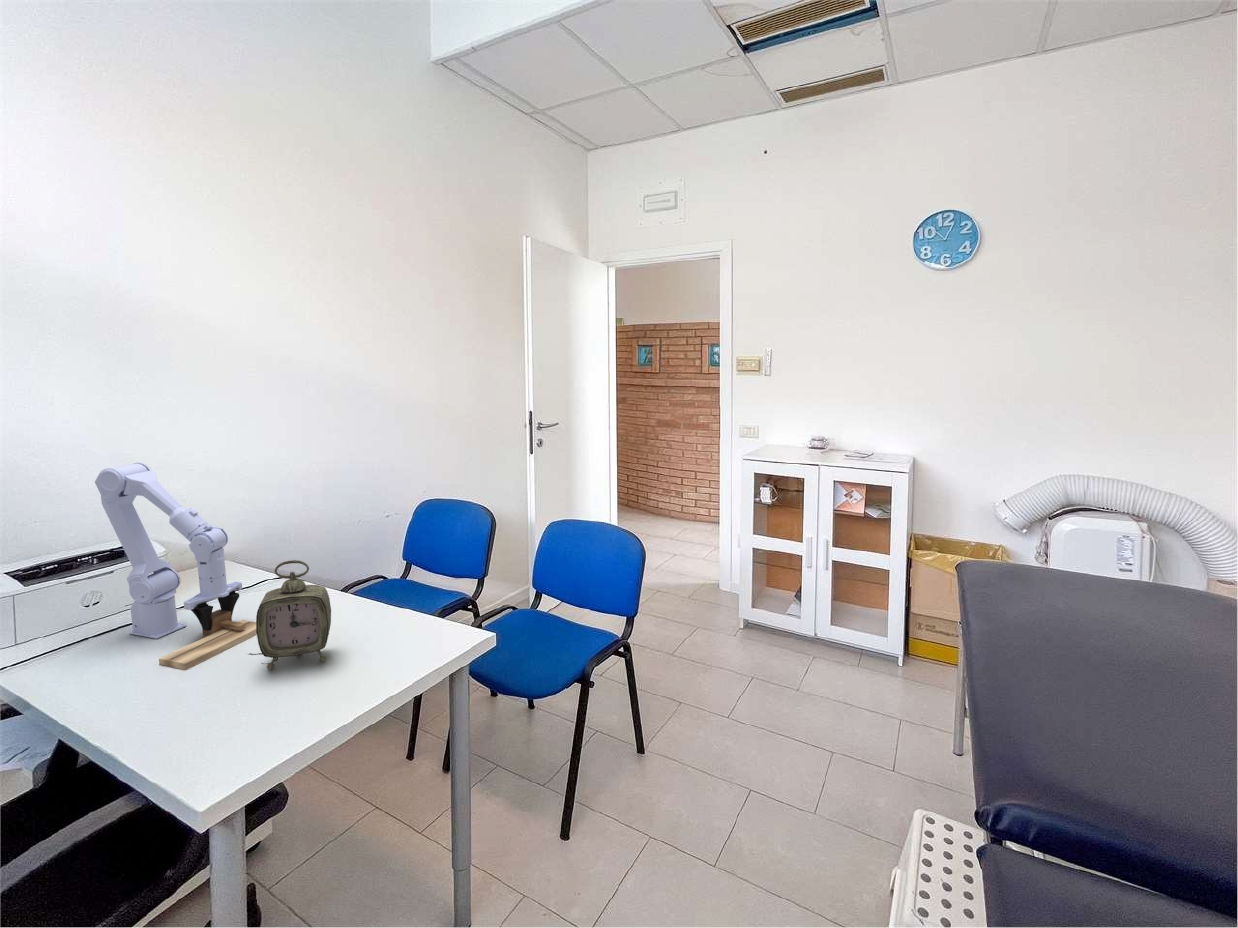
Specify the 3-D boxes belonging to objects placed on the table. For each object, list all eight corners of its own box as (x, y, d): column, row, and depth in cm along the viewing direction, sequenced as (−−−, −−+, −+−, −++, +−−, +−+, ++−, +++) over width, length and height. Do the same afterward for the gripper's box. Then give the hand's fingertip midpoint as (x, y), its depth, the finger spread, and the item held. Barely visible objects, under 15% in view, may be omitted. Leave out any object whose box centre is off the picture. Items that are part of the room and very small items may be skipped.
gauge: (202, 635, 149) (201, 616, 148) (220, 626, 154) (219, 609, 153) (234, 641, 146) (232, 622, 145) (252, 632, 151) (250, 614, 150)
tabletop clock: (260, 675, 131) (250, 569, 126) (267, 656, 139) (259, 557, 135) (331, 664, 136) (324, 563, 132) (334, 647, 144) (328, 551, 140)
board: (159, 664, 134) (158, 658, 134) (243, 625, 155) (242, 619, 155) (185, 669, 132) (185, 663, 132) (267, 629, 153) (266, 623, 153)
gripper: (197, 587, 140) (202, 639, 143) (249, 568, 154) (253, 615, 156) (175, 583, 142) (180, 635, 144) (228, 565, 156) (233, 612, 158)
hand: (217, 625), depth 151 cm, fingers closed on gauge, 5 cm apart
